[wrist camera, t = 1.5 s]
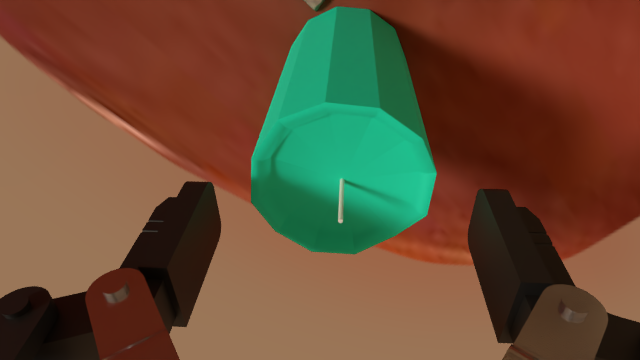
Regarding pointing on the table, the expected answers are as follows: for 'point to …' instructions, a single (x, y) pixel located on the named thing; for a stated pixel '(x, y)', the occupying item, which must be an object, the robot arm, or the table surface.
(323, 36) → the candle
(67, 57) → the table surface
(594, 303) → the robot arm
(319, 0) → the wooden fragment
